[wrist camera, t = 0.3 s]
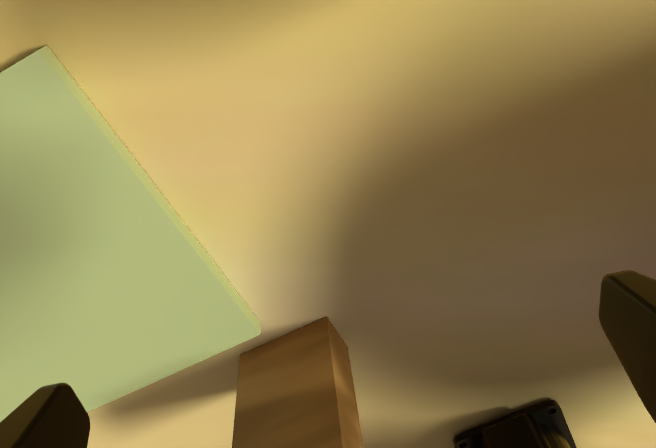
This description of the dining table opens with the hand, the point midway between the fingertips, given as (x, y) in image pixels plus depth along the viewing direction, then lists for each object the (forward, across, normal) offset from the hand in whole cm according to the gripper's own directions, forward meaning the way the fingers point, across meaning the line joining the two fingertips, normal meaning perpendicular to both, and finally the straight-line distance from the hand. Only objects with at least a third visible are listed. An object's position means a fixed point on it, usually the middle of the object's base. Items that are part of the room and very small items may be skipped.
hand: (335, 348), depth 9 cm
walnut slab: (+14, +3, +12) cm, 19 cm away
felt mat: (+14, +15, +5) cm, 21 cm away
